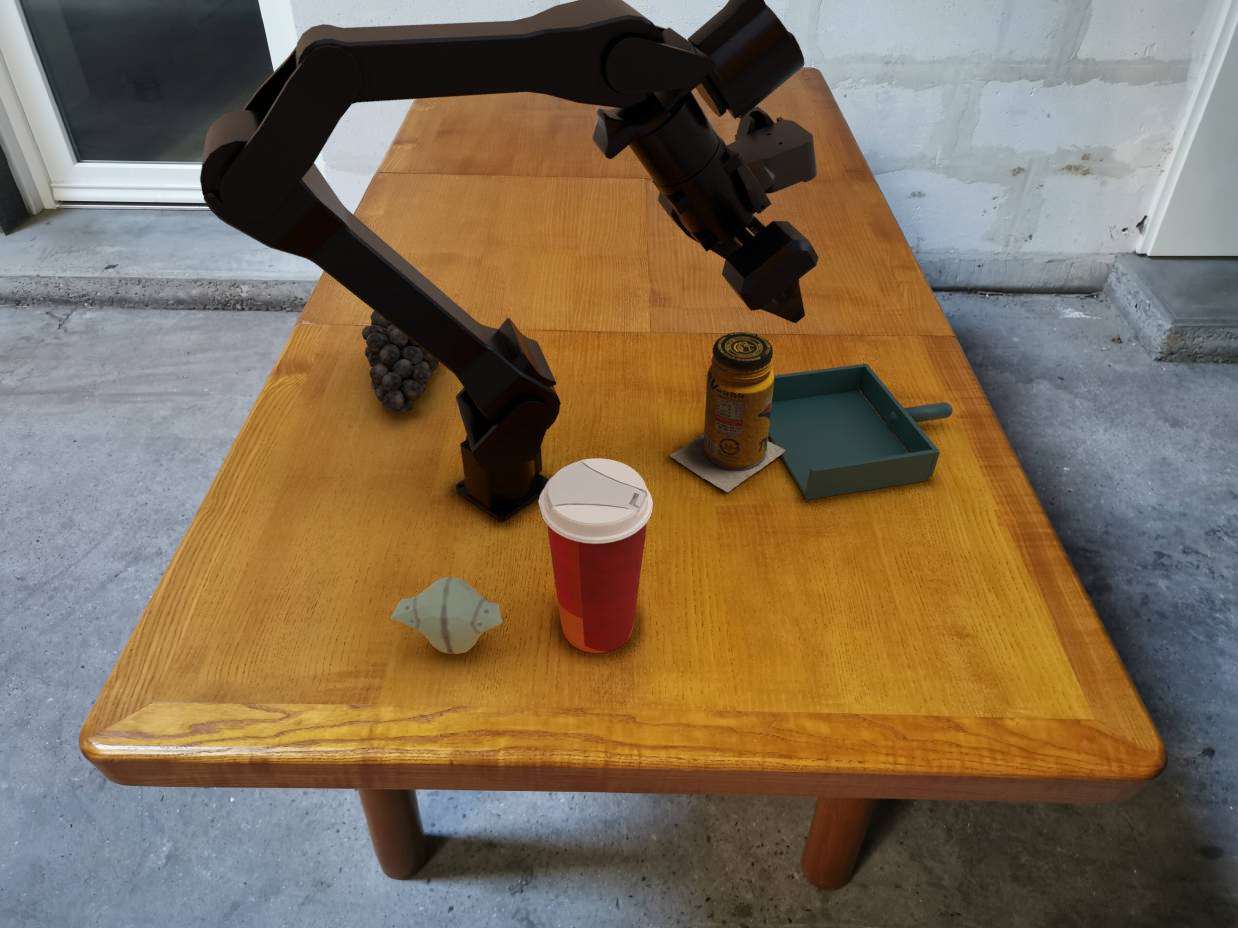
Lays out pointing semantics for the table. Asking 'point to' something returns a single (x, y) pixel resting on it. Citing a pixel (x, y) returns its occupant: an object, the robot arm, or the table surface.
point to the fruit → (396, 365)
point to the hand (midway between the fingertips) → (775, 292)
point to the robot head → (449, 615)
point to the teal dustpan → (849, 432)
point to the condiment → (735, 413)
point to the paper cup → (596, 549)
